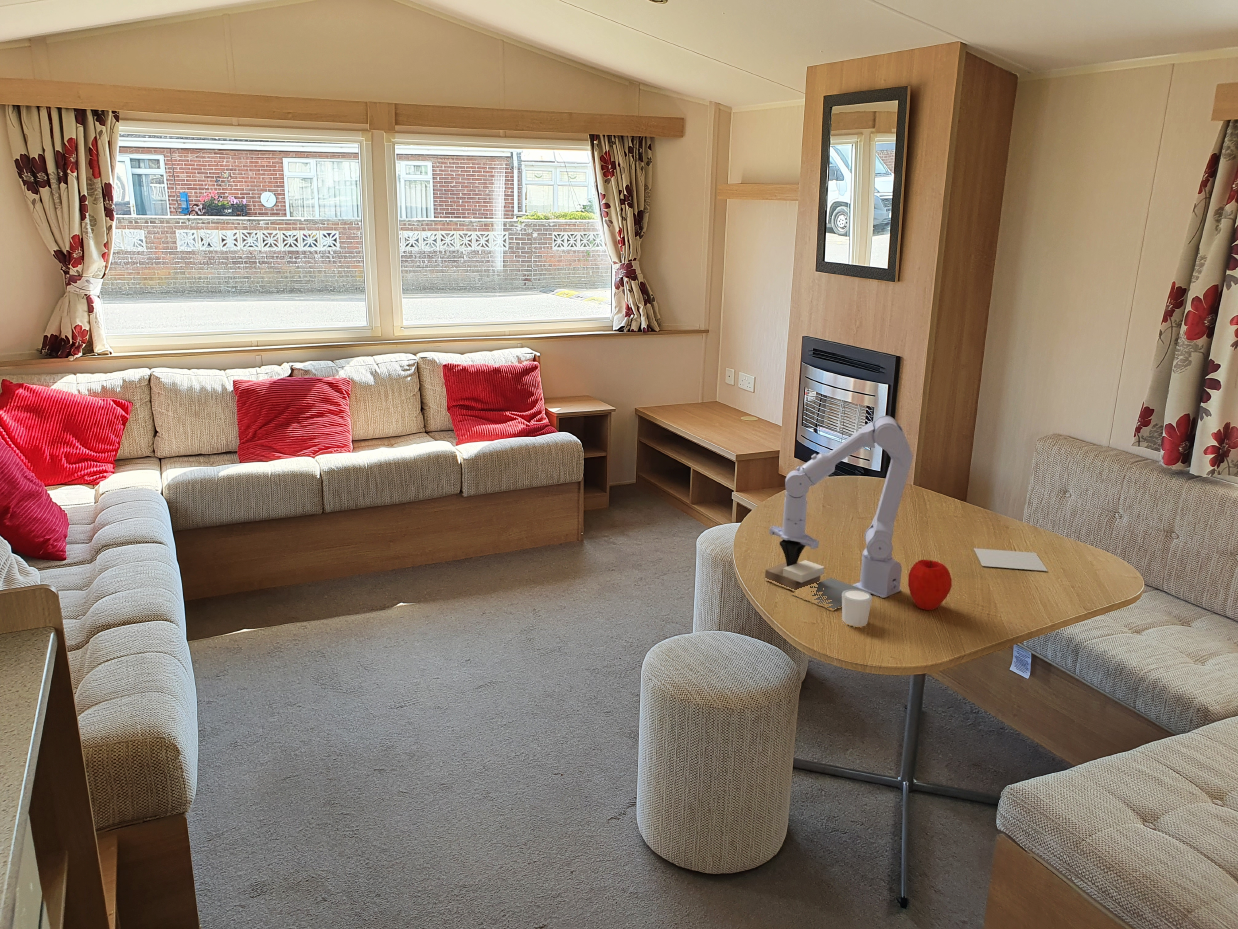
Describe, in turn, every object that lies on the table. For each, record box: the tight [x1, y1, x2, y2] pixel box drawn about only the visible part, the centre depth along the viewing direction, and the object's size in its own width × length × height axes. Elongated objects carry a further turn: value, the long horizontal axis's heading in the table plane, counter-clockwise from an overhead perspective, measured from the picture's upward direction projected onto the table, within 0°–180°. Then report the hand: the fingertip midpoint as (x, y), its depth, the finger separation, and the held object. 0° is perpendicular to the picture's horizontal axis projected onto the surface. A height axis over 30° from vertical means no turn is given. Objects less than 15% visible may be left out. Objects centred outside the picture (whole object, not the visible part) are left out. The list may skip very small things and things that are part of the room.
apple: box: [907, 559, 953, 611], centre depth 219 cm, size 10×10×12 cm
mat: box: [810, 577, 873, 609], centre depth 227 cm, size 13×16×1 cm
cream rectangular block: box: [783, 559, 825, 583], centre depth 232 cm, size 6×9×2 cm, turn 130°
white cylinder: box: [841, 589, 873, 626], centre depth 211 cm, size 7×7×7 cm
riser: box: [764, 562, 821, 590], centre depth 235 cm, size 10×10×3 cm
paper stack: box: [973, 547, 1048, 572], centre depth 248 cm, size 23×25×1 cm
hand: (791, 567), depth 235 cm, fingers closed
